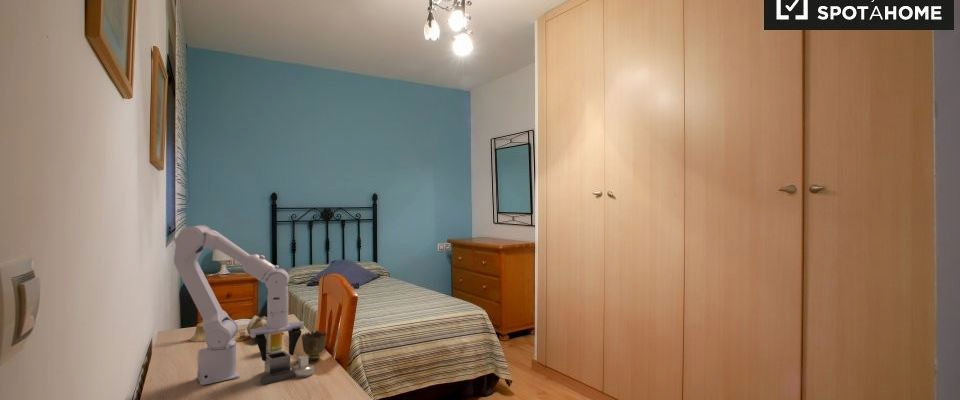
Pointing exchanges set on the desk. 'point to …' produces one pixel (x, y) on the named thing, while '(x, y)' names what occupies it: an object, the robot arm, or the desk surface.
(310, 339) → the cup
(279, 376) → the ratchet
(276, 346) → the supplement bottle
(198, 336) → the hand bell
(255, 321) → the ceramic sculpture
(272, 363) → the dark-topped grey cube
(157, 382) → the desk surface
